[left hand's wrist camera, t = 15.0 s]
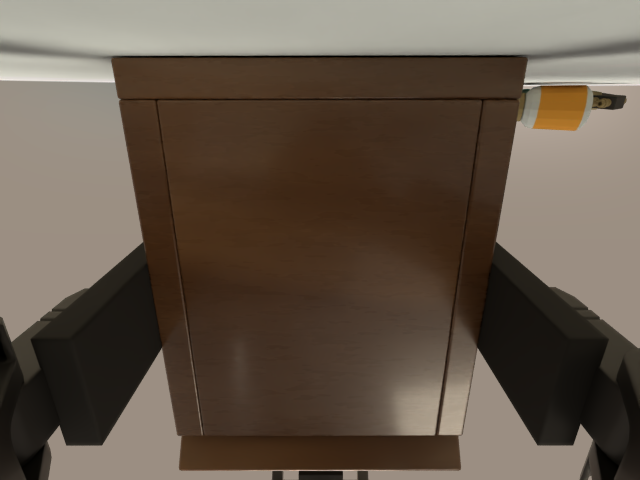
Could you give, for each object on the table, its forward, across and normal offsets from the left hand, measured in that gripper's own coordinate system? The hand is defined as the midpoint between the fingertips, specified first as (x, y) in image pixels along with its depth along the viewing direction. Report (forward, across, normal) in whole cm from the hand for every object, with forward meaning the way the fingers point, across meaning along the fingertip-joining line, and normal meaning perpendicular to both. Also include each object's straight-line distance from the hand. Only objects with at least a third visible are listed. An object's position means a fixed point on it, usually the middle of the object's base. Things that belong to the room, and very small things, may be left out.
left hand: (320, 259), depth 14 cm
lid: (+5, 0, +10) cm, 11 cm away
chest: (+6, 0, -6) cm, 8 cm away
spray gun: (+33, -25, -6) cm, 42 cm away
